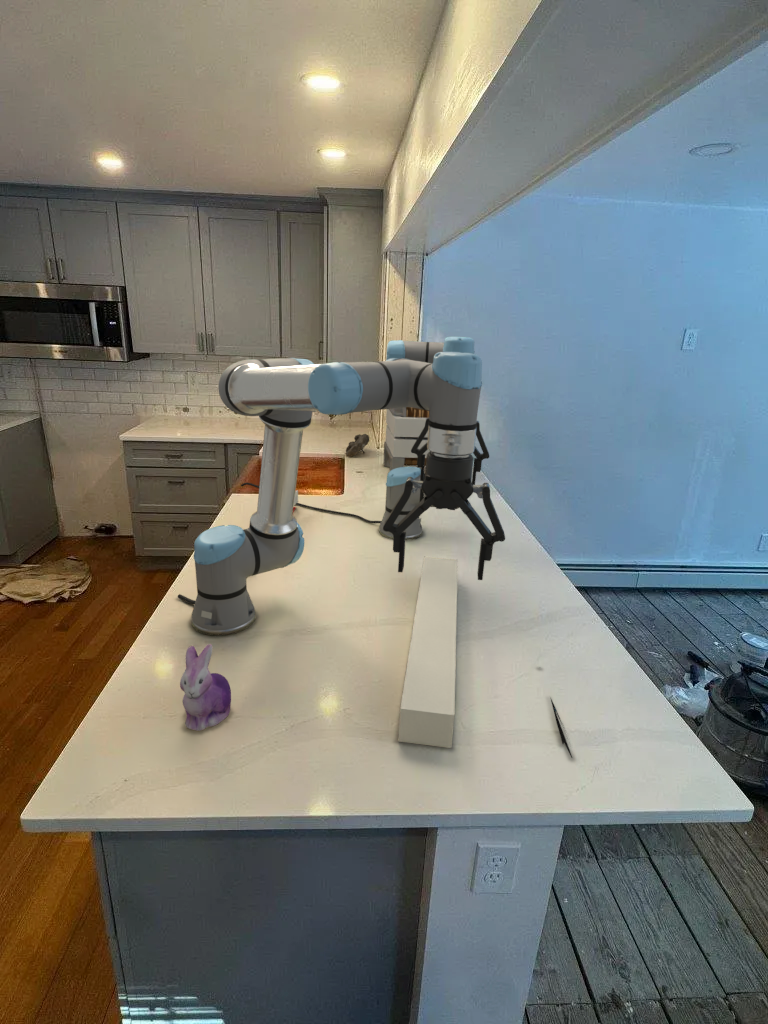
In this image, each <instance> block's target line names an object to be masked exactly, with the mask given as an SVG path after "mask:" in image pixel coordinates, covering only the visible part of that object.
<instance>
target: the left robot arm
mask: <svg viewBox="0 0 768 1024" xmlns="http://www.w3.org/2000/svg"><path fill="white" fill-rule="evenodd" d="M482 372H483V360H482V358H481V356H480V355H478V354H477V353H474V354H472V353H460V352H438V353H436V354H435V355H434V359H433V363H426V362H420V361H414V360H410V359H406V358H391V359H388V360H382V361H381V360H380V361H379V360H378V361H348V362H347V361H346V362H344V361H332V362H328V363H327V362H326V363H316V364H315V363H314V362H313V361H312V360H309V359H307V358H295V357H286V358H285V357H284V358H261V359H260V358H259V359H256V358H255V359H254V358H252V359H243V360H239V361H237V362H233V363H232V364H231V365H229V366H227V368H225V370H224V371H223V372H222V373H221V375H220V378H219V380H218V385H217V386H218V388H217V389H218V395H219V397H220V400H221V401H222V403H223V404H224V406H225V407H226V408H227V409H228V410H230V411H231V412H233V413H235V414H237V415H241V416H245V417H258V419H259V420H260V421H261V422H262V423H263V424H264V431H263V441H262V442H263V443H262V452H261V453H262V454H261V463H260V465H261V466H260V476H259V484H258V486H259V488H258V497H257V509H256V511H255V512H253V513H252V515H251V516H250V517H249V527H248V528H244V529H243V527H241V526H239V525H236V524H227V525H225V524H221V525H217V526H214V527H210V528H207V529H205V530H204V531H202V532H201V533H200V534H198V536H197V538H196V539H195V541H194V544H193V546H194V547H193V548H194V549H193V560H194V567H195V580H196V591H197V593H196V598H195V600H194V599H190V598H188V597H187V596H185V595H182V594H180V593H179V594H178V595H177V598H178V599H180V600H182V601H184V602H186V603H188V604H191V605H193V609H192V612H191V617H190V618H191V625H192V627H193V629H194V630H195V631H197V632H199V633H200V634H203V635H208V636H214V637H215V636H216V637H218V636H228V635H233V634H237V633H240V632H242V631H244V630H246V629H248V628H249V627H251V626H252V625H253V623H254V622H255V620H256V609H255V605H254V603H253V601H252V598H251V596H250V594H249V592H248V586H247V579H248V578H250V577H253V576H256V575H261V574H264V573H268V572H270V571H271V572H272V571H274V570H278V569H283V568H286V567H288V566H289V565H293V564H295V563H296V562H298V561H299V560H300V559H301V557H302V555H303V553H304V549H305V537H303V535H304V531H303V529H302V527H301V524H299V522H298V520H297V518H296V517H295V516H294V515H293V514H294V512H293V505H294V497H295V491H296V489H297V481H298V473H299V466H300V457H301V450H302V442H303V434H304V433H303V432H304V430H305V429H306V428H308V427H309V426H310V425H311V424H312V419H313V417H312V415H313V412H314V413H315V412H319V413H320V414H323V415H335V416H338V415H347V414H353V413H361V412H368V411H370V412H371V411H379V410H380V411H383V410H387V409H392V408H402V407H413V408H418V409H423V410H426V411H430V412H429V428H428V443H427V449H428V450H429V451H430V452H428V454H427V456H426V466H425V470H424V473H425V479H424V480H423V481H419V480H414V479H413V478H412V477H408V478H407V480H406V483H405V488H404V491H403V493H402V495H401V496H400V498H399V500H398V501H397V503H396V505H395V506H394V508H393V510H392V511H391V513H390V515H389V516H388V518H387V520H386V521H385V524H384V527H383V530H384V531H386V532H391V533H392V534H393V539H392V551H393V553H396V554H397V553H398V565H397V566H398V567H397V573H402V574H403V572H404V568H405V553H406V540H405V539H406V532H404V531H405V530H406V529H407V528H408V527H409V526H410V525H411V524H412V523H413V522H414V521H415V520H416V519H417V518H418V517H419V518H420V517H421V516H422V515H423V514H424V513H425V512H426V511H428V510H429V509H430V508H432V507H431V506H434V507H433V508H435V509H436V510H449V511H455V510H457V509H460V510H461V511H462V513H463V514H464V515H465V516H466V517H467V519H469V521H470V522H471V524H472V525H473V526H474V527H475V529H476V530H477V531H478V533H479V534H480V535H481V537H482V538H480V547H479V555H478V563H477V565H478V566H477V580H478V581H483V577H484V569H485V562H490V561H491V560H492V559H493V550H494V549H493V548H494V545H495V543H497V542H501V543H502V542H503V543H504V542H505V540H506V535H505V530H504V527H503V525H502V523H501V520H500V518H499V516H498V513H497V510H496V507H495V506H494V503H493V501H492V498H491V488H490V483H489V482H484V483H481V484H475V485H473V484H472V476H473V466H474V458H475V457H474V456H473V455H472V454H473V452H474V449H475V447H476V439H477V436H476V428H477V427H476V426H477V422H476V421H478V412H479V406H480V405H479V404H480V399H481V398H480V397H481V389H482V386H483V381H482ZM419 488H421V489H422V491H423V492H424V494H425V495H426V496H425V497H424V498H423V499H422V500H421V502H420V503H419V504H418V505H417V506H416V507H415V508H414V509H412V510H411V511H410V512H409V513H408V514H407V515H406V516H405V517H404V518H403V519H402V520H401V521H400V522H399V523H398V524H394V522H395V521H396V519H397V517H398V516H399V514H400V512H401V511H402V509H403V508H404V506H405V504H406V503H407V501H408V499H409V497H410V495H411V493H415V492H416V491H417V489H419ZM473 494H476V495H477V498H478V499H481V500H482V503H483V506H484V508H485V511H486V513H487V516H488V518H489V522H490V524H491V525H492V528H493V532H492V531H491V530H490V528H489V527H488V525H487V524H486V523H485V522H484V521H483V519H482V517H481V516H480V515H479V514H478V512H477V511H476V510H475V508H474V507H473V506H472V504H471V502H470V501H469V498H470V497H471V496H472V495H473ZM294 506H295V505H294ZM444 508H446V509H444Z"/></svg>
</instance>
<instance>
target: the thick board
mask: <svg viewBox="0 0 768 1024" xmlns="http://www.w3.org/2000/svg"><path fill="white" fill-rule="evenodd" d="M458 562H459V561H458V558H457V559H455V558H445V557H433V556H423V561H422V568H421V574H420V581H419V585H418V593H417V600H416V606H415V612H414V618H413V625H412V626H413V627H412V631H411V637H410V644H409V649H408V650H409V651H408V657H407V664H406V669H405V676H404V682H403V688H402V696H401V701H400V708H399V723H398V737H397V738H398V740H397V742H400V743H406V744H407V743H408V744H414V745H416V744H417V745H423V746H431V747H440V748H447V749H452V746H453V745H452V744H453V735H454V734H453V733H454V725H455V713H456V709H455V708H456V663H457V662H456V661H457V659H456V658H457V618H458V617H457V616H458V615H457V614H458V613H457V611H458V569H459V568H458V567H459V565H458Z"/></svg>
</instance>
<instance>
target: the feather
mask: <svg viewBox="0 0 768 1024" xmlns="http://www.w3.org/2000/svg"><path fill="white" fill-rule="evenodd" d="M539 669H541V666H540V667H539ZM549 697H550V702H551V706H552V710H553V714H554V718H555V722H556V726H557V729H558V732H559V737H560V740H561V744H562V745H564V746H565V748H566V750H567V751H568V753H569V755H570V757H571V758H573V756H572V753H571V750H570V748H569V745H570V747H572V744H571V740H569V741H568V742H567V740H566V739H567V738H569V735H567V732H566V727H564V723H563V721H562V720H561V717H560V715H559V713H558V710H557V708H556V706H555V704H554V702H553V699H552V697H551V696H549ZM566 735H567V738H566ZM568 743H569V744H568Z"/></svg>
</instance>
